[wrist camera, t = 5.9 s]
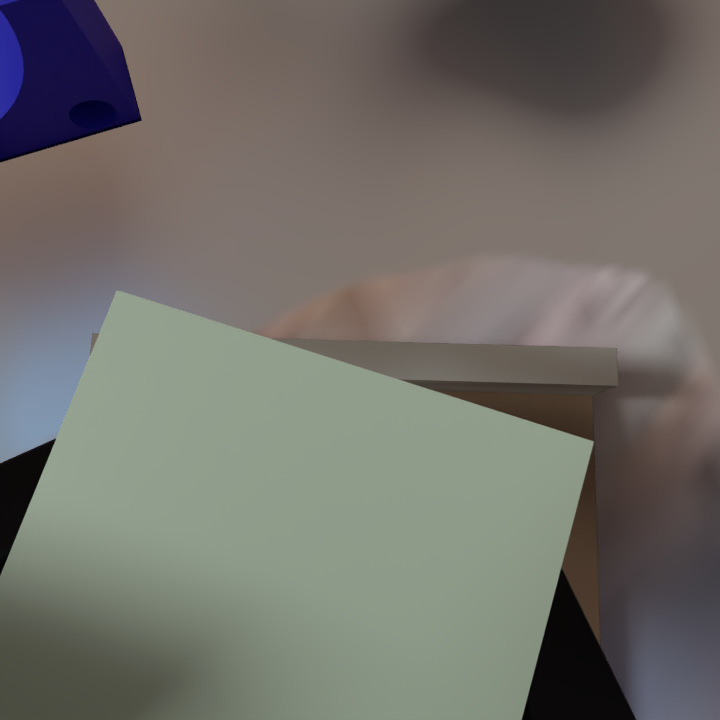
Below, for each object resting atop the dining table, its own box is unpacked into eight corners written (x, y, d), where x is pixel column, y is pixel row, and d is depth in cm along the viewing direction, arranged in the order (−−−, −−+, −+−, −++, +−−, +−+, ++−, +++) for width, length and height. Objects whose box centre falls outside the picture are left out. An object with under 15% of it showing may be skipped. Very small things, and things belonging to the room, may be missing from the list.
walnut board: (595, 957, 17) (645, 1069, 14) (80, 926, 17) (13, 1027, 14) (578, 368, 20) (616, 348, 16) (137, 355, 20) (92, 333, 17)
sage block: (395, 627, 15) (444, 1019, 4) (239, 572, 15) (-92, 799, 5) (444, 465, 16) (593, 441, 5) (293, 416, 16) (116, 289, 5)
